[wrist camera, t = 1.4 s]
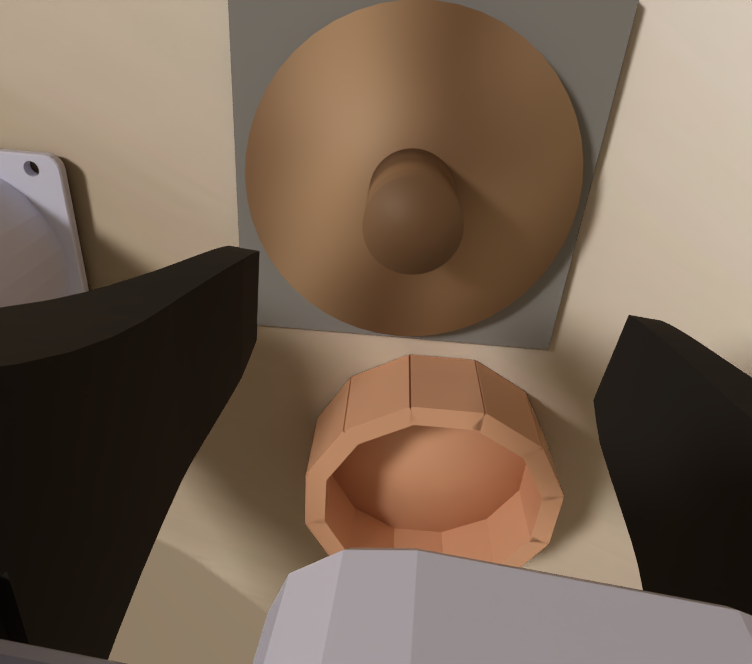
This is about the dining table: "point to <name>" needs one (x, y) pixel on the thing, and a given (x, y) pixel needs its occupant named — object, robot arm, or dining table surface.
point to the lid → (414, 167)
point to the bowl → (432, 464)
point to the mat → (525, 16)
